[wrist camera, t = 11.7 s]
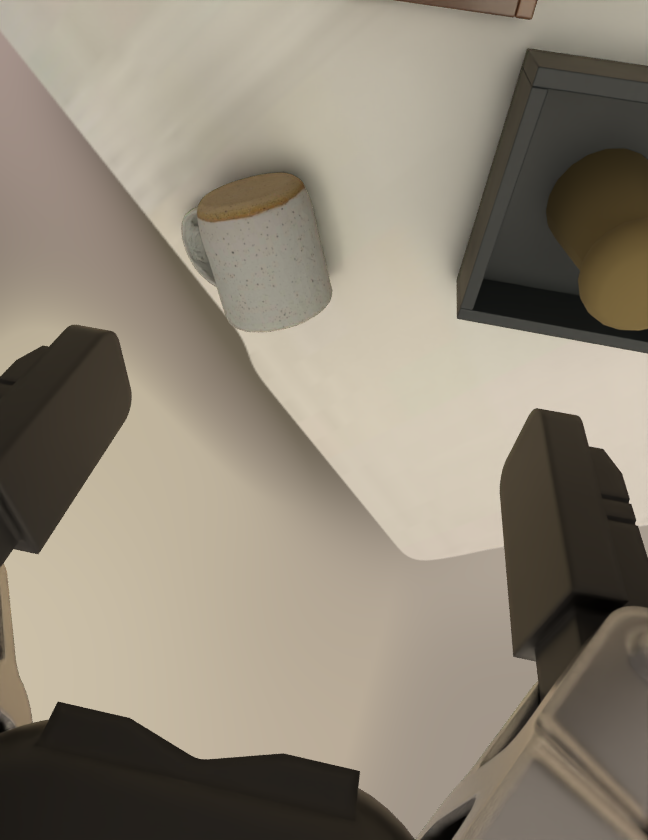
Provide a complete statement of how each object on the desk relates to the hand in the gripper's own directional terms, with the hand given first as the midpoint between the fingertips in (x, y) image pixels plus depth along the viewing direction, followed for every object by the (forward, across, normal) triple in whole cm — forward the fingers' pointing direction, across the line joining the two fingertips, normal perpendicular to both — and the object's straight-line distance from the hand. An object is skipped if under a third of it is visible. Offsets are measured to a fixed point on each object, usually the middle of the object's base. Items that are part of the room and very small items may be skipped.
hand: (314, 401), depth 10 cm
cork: (+26, -13, +4) cm, 30 cm away
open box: (+27, -13, +4) cm, 30 cm away
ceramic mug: (+27, +8, +10) cm, 30 cm away
